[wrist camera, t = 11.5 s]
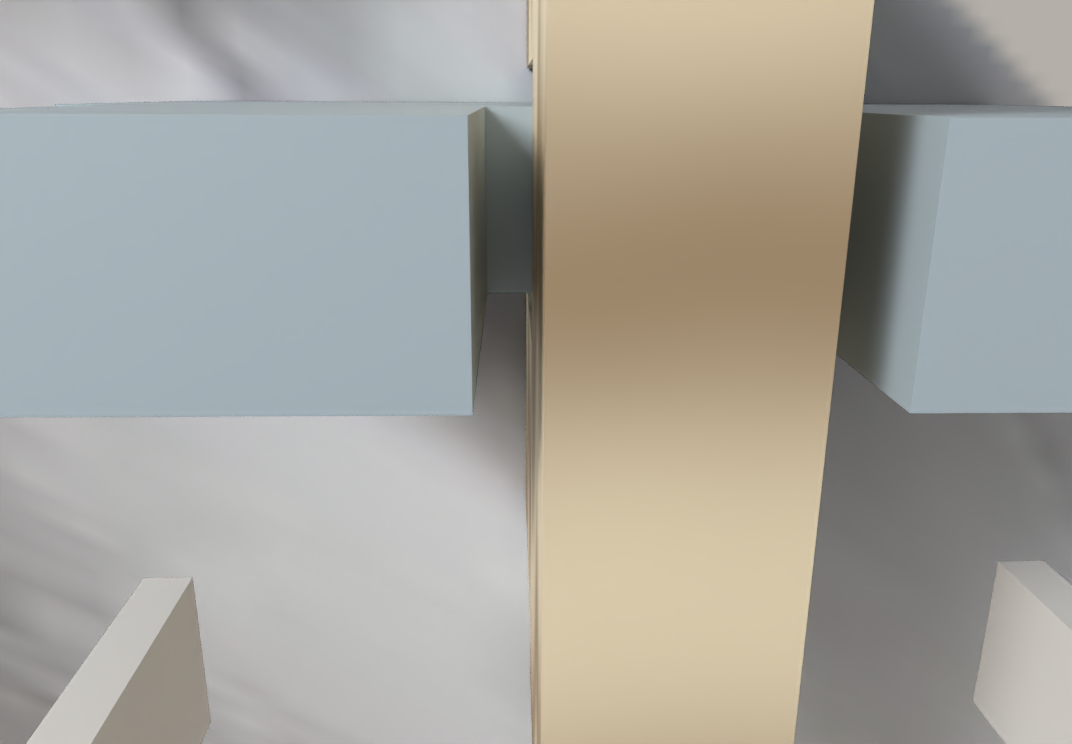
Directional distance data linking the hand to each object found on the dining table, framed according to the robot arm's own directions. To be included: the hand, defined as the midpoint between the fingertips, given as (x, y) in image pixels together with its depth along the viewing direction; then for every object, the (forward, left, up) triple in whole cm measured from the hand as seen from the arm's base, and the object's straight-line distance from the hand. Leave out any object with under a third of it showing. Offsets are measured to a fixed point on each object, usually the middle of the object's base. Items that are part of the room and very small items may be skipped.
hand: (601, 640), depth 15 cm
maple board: (0, +7, -8) cm, 11 cm away
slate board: (0, +7, -8) cm, 11 cm away
